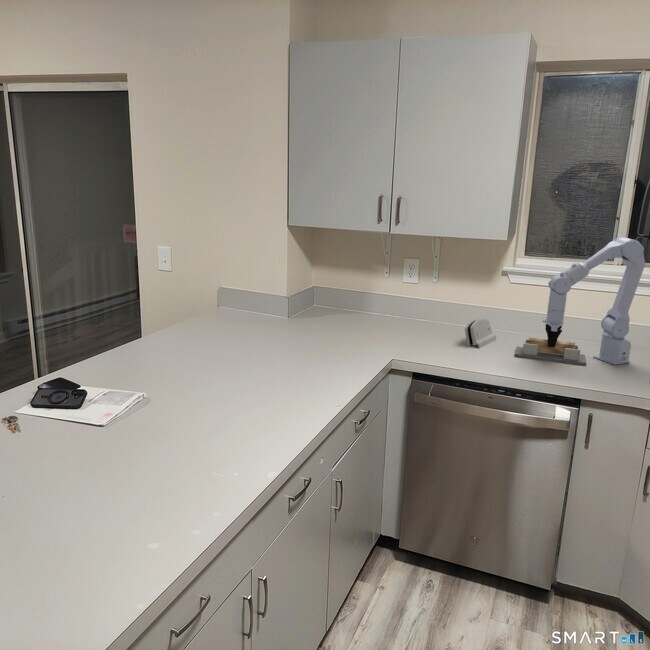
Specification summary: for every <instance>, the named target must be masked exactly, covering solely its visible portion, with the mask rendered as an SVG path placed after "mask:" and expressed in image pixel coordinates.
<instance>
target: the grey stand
mask: <svg viewBox="0 0 650 650" xmlns="http://www.w3.org/2000/svg"><path fill="white" fill-rule="evenodd" d="M492 329H493V328H492V326H491V323H490V320H489V319H486V318H485V319H484V318H478V319H475V320H471V321H469V322H468V324H467V325H466V326H465V327H464V334H465V338H466V344H467V345H468V346H467V347H472V346H477V347H478V349H481V348H483V347H485V346H487V345H489V344H491V343H493V342H494V341H496V340H497V336H496V334H495V333H494V332H493V330H492Z"/></svg>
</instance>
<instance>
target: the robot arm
mask: <svg viewBox="0 0 650 650" xmlns="http://www.w3.org/2000/svg"><path fill="white" fill-rule="evenodd" d="M644 250H645V248H644V246H643V245H642V244H641V242H640V241H638V240H636V239H632V238H628V237H626V236H618V237H616V238H615V239H614V240H612V241H610V242H608V243H607V244H606V245H605V246H604V247H603V248H602V249H600V250H598V252H596V253H594V254H593V255H592V256H590V257H589V258H587V260H585V261H584V262H580V261H578V262H577V263H575V262H574V263H571V266H570V267H569V268H567V269H566V270H564V271H561V272H559V274H558V275H554V276H552V277H551V279H550V280H549V281H548V287H549V289H550V290H549V296H548V303H547V313H546V319H545V318H544V319H542V323H544V324H545V328H544V329H545V332H546V334H547V335H546V336H547V340H548V347H555V345H556V342H557V341H558V339H559V336H560V335H561V334H562V332H563V329H562V328H563V325H564V318H565V312H566V311H565V310H566V304H567V303H566V302H567V296H568V293H569V292H570V291H571V288H572V287H573V286H575V285H576V284H578V283H579V282H580V281H582V280H584V279H585V278H586V277H589V273H590V271H591V270H592V269H594V268H596V267H598V266H599V265H601V264H602V263H604V262H606V261H608V260H609V259H614V258H615V259H620V258H621V260H622V261H623V262H624V264H625V265H626V266H625V270H624V273H623V276H622V279H621V282H620V284H619V287H618V290H617V293H616V296H615V298H614V302H613V304H612V307H611V308H610V309H608V311H607V312H606V315H605V316H603V318H602V319H601V321H600V326H601V329H602V330H603V331H602V336H601V340H600V347H599V353H598V354H595V355H593V358H595V359H598V360H600V361H603V362H606V363H609V364H612V365H621V364H628V363H630V362H631V361H630V354H631V348H632V344H631V341H629V340H627V338H625V337H626V336H627V335H628V334H629V332H630V326H629V325H630V321H631V319H630V315H629V311H630V309H631V305H632V303H633V300H634V298H635V295H636V292H637V289H638V285H639V284H640V281H641V278H642V274H643V272H644V269H645V266H646V260H645V255H644Z"/></svg>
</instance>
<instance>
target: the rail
mask: <svg viewBox="0 0 650 650" xmlns="http://www.w3.org/2000/svg"><path fill="white" fill-rule="evenodd" d="M527 339H528V344H536V345H538V352H546V353H554V354H562V355H564V351H565V348H569V349H575V345H576V342H571V341H570V342H569V341H562V340H557V342H556V345H555V347H548V339H544V338H537V337H535V338H534V337H528V338H527Z"/></svg>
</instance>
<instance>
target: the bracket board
mask: <svg viewBox="0 0 650 650" xmlns="http://www.w3.org/2000/svg"><path fill="white" fill-rule="evenodd" d="M528 339H529V338H524V339H523V345H522V346H516V347H515V354H514V357H516V358H523V359H531V360H539V361H547V362H554V363H563V364H570V365H578V366H584V365H585V367H586V366H587V359H586V355H585V354H582V353H581V346H580V345H579V344H575V349H569V348H565V351H564V355H562V354H554V353H546V352H538V345H536V344H528Z"/></svg>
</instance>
